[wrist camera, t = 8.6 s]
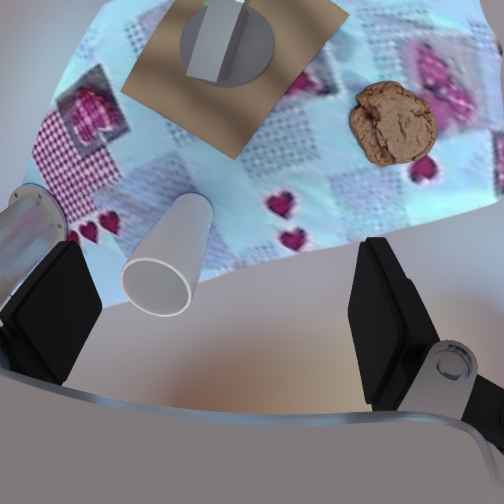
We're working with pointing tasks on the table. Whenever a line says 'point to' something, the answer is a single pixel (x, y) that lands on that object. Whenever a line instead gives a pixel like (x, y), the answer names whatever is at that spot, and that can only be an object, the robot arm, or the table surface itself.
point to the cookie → (392, 124)
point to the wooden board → (237, 97)
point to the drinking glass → (169, 258)
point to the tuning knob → (226, 44)
